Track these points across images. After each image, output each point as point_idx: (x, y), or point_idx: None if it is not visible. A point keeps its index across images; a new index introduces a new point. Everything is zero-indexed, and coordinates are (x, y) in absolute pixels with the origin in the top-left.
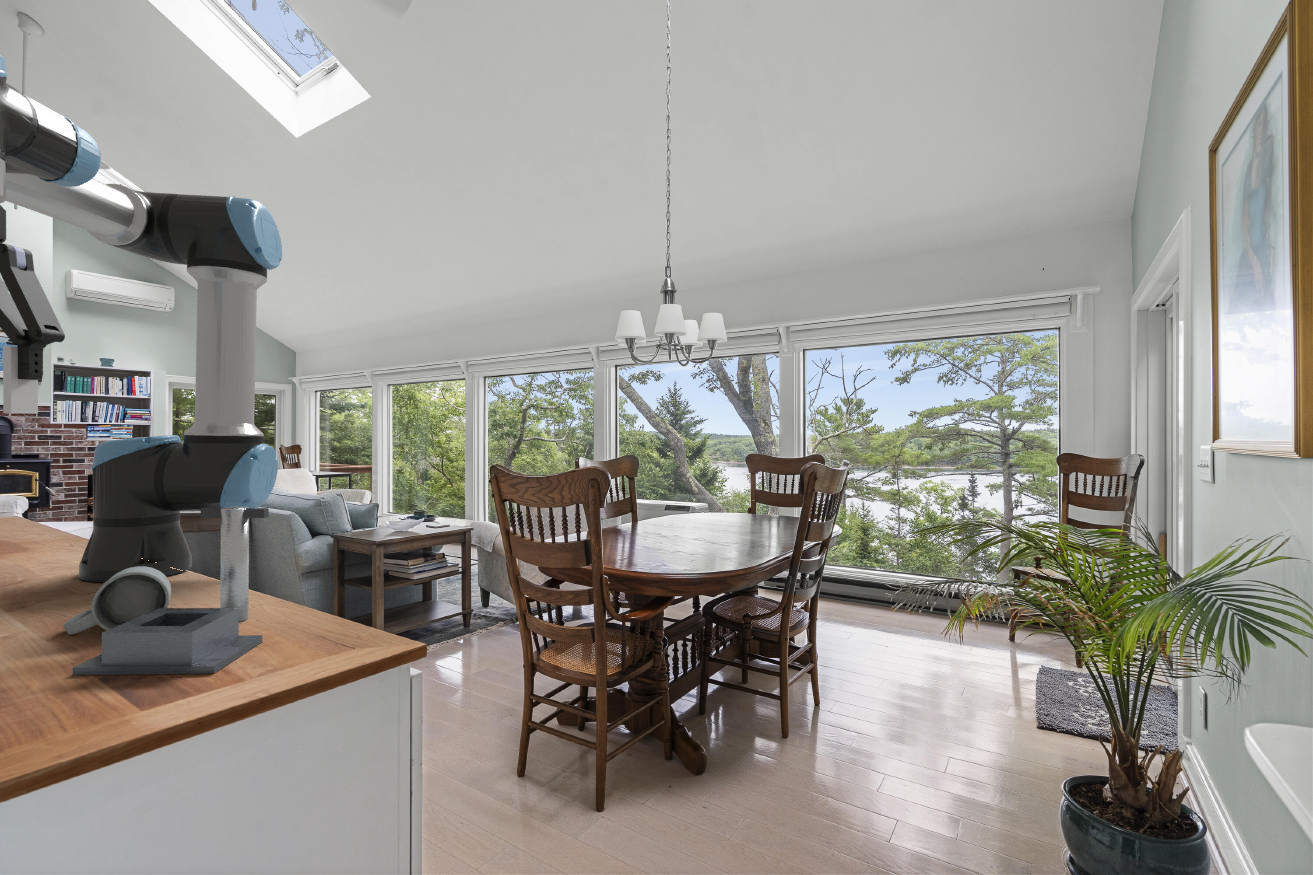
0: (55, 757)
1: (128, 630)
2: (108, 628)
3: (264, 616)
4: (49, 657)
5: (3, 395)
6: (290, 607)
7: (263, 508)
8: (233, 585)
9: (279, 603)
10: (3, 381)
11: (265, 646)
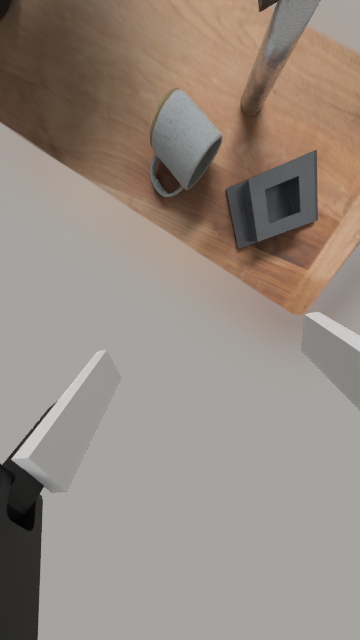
0: (304, 307)
1: (270, 232)
2: (193, 185)
3: None
4: (198, 232)
5: (320, 369)
6: None
7: None
8: (272, 85)
9: None
10: (338, 388)
11: (320, 161)
